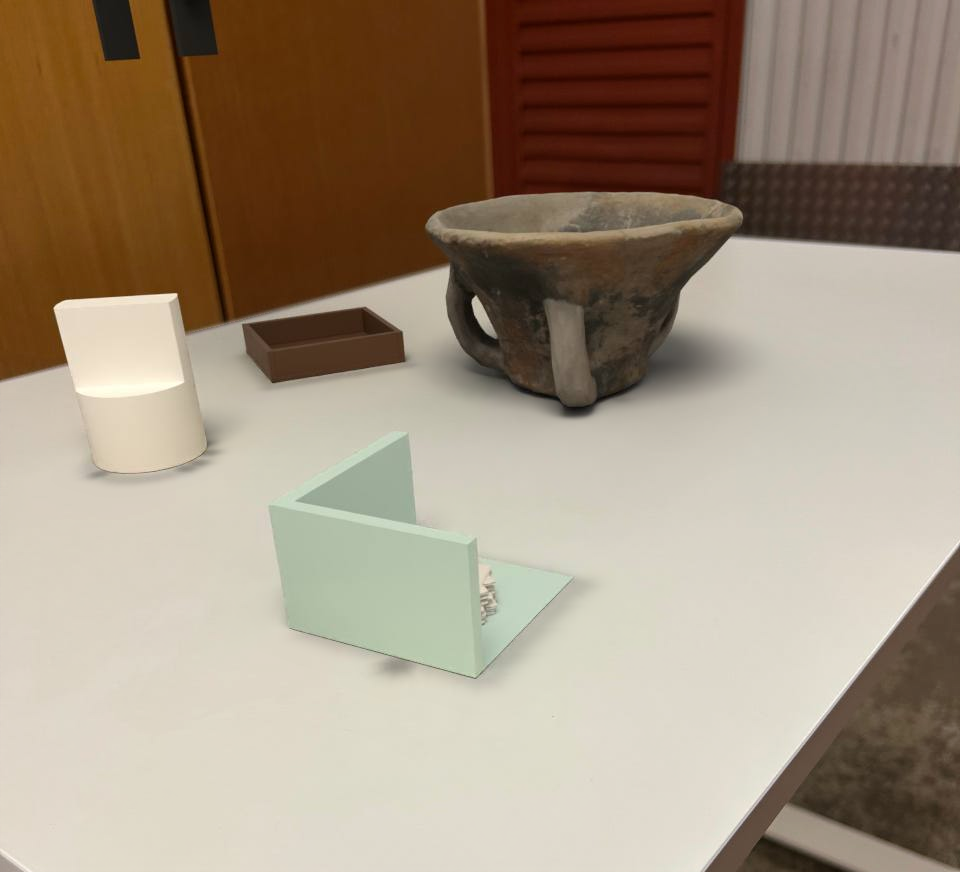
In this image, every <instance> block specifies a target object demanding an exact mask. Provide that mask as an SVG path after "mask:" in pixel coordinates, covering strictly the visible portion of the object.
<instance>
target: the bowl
mask: <svg viewBox="0 0 960 872" xmlns="http://www.w3.org/2000/svg"><path fill="white" fill-rule="evenodd" d="M743 215H744V214H743V212H742V211H741V209H739V208H738V207H737V206H734V205H732V204H729V203H726V202H722V201H720V200H718V199H710V198H704V197H701V196H697V195H688V194H687V195H685V194H679V193H663V192H654V191H647V192H646V191H632V192H631V191H630V192H627V191H618V192H616V191H615V192H611V191H601V192H600V191H599V192H598V191H579V192H578V191H574V192H549V193H547V192H546V193H529V194H514V195H513V194H512V195H506V196H500V197H496V198H490V199H485V200H479V201H475V202H468V203H462V204H458V205H454V206H451V207H450V206H449V207H447V208H445V209H442V210H438V211H436V212H435V213H433V214H432V215H431V216H430V217H429V218H428V220H427V222H426V224H425V225H424V230H425V233H426V235H427V236H428V237H429V238H430V240H431V241H432V242H433V244H435V246H436V247H437V248H438V249H439V250H440V251H441V252H442V254H443V255H445V257H446V258H447V259H448V260H449V261H450V262H449V274H448V281H447V287H446V293H445V305H446V314H447V319H448V321H449V323H450V326H451V328H452V331H453V333H454V336H455V338H456V340H457V342H458V343H459V345H460V347H461V348H462V350H463V351H464V353H465V354H466V355H468V356H469V357H470V358H472V359H473V360H474V361H475V362H477V363H478V364H479V365H480V366H482V367H485V368H488V369H491V370H493V371H497V372H499V373H502V374H503V373H504V374H506V375H507V377H508V378H509V379H510V381H511V382H512V383H513V384H515V385H517V386H518V387H520V388H523V389H524V390H527V391H531V392H533V393H536V394H541V395H545V396H550V397H554V398H558V399H559V401H560V402H561V403H562V405H564V406H567V407H569V408H570V407H572V408H573V407H577V408H578V407H587V406H591V405H592V404H594V403H595V402H596V400H599V399H601V398H604V397H607V396H610V395H612V394H615V393H618V392H621V391H624V390H627V389H628V388H630V387H631V386H632V385H633V384H636V383H638V382H639V381H640V380H641V379H642V378H643V377H644V376H645V375H647V373H648V371H649V367H648V359H650V358H651V357H652V356H653V355H654V353H656V351H657V350H658V349H659V348H660V347H661V346H662V345H663V344H664V342H665V341H666V340H667V338H668V337H669V334H670V333H671V331H672V329H673V326H674V323H675V320H676V317H677V314H678V311H679V305H680V298H681V293H682V292H681V291H682V290H683V289H684V287H685V286H686V285H687V284H688V282H689V281H690V280H691V279H692V278H693V276H695V274H697V273H698V272H699V271H700V270H701V269H703V268H704V267H705V266H706V264H708V263H709V262H710V261H711V260H712V259H713V257H714V256H715V255H716V254H717V253H718V252H719V251H720V250H721V248H722V247H723V246H724V245H725V244H726V243H727V242H728V241H729V240H730V239H731V237H732V236H733V235H734V234H735V233H736V232H737V230H739V228H740V227H741V226H742V225H743V221H744V217H743ZM475 297H477V299H478V301H479V303H480V304H481V306H482V307H483V310H484V313H485V314H486V316H487V318H488V320H489V323H490V324H491V326H492V329H493V330H494V332H495V335H496V337H497V338H495V337H493V336H491V335H489V334H488V333H486V330H484V329H483V327H482V325H481V324H480V322H479V321H478V319H477V317H476V315H475V312H474V311H475V310H474V306H473V303H472V302H473V299H474V298H475Z"/></svg>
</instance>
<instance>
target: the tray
mask: <svg viewBox="0 0 960 872" xmlns="http://www.w3.org/2000/svg"><path fill="white" fill-rule="evenodd" d="M241 328H242V333H243V339H244V345H245V351H246V354H247V355H248V356H249V357H250V358H251V360H253V362H254V363H255V364H256V365H257V366H258V368H259V369H260V370H261V371H262V373H263V374H264V375H265V376H266V377H267V378H268V380H269V381H270V382H271V383H273V384H274V383H278V382H284V381H285V382H286V381H291V380H297V379H304V378H309V377H317V376H323V375H329V374H335V373H336V374H337V373H341V372H349V371H353V370H361V369H366V368H374V367H380V366H385V365H392V364H397V363H404V362H406V354H405V343H404V332H403V331H402V330H401V329H400V328H398V327H397V326H395V325H393V323H390V322H389V321H388V320H386V319H385V318H384V317H382V316H381V315H379V314H377V313H376V312H375V311H373V310H372V309H370V308H368V307H367V306H359V307H358V306H357V307H353V308H345V309H337V310H330V311H322V312H317V313H309V314H303V315H294V316H288V317H282V318H274V319H267V320H260V321H252V322H246V323H241Z"/></svg>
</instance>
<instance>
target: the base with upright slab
mask: <svg viewBox="0 0 960 872" xmlns="http://www.w3.org/2000/svg"><path fill="white" fill-rule="evenodd" d="M53 312H54V316H55V320H56V323H57V328H58V330H59V335H60V338H61V342H62V346H63V350H64V353H65V357H66V362H67V364H68V368H69V372H70V376H71V381H72V384H73V386H74V392H75V395H76V396H75V397H76V398H77V403H78V406H79V407H78V408H79V410H80V411H79V412H80V415H81V418H82V422H83V426H84V429H85V435H86V437H87V441H88V445H89V448H90V452H91V456H92V461H93V464H94V466H96V467H97V468H98V469H100V470H102V471H107V472H110V473H118V474H141V473H150V472H156V471H162V470H166V469H171V468H174V467H177V466H181V465H184V464H186V463H189V462H191V461H193V460H195V459H196V458H198V457H200V456H201V455H203V453H205V451H206V450H207V447H208V442H207V438H206V437H207V436H206V431H205V427H204V422H203V416H202V412H201V406H200V401H199V396H198V391H197V387H196V386H197V385H196V382H195V381H196V380H195V376H194V372H193V368H192V367H193V366H192V361H191V357H190V351H189V346H188V341H187V335H186V330H185V326H184V321H183V316H182V310H181V306H180V300H179V295H178V293H177V292H176V293H175V292H173V293H159V294H141V295H140V294H139V295H127V296H126V295H125V296H110V297H94V298H92V297H91V298H76V299H65V300H62V301H60V302H58V303H56V304H55V305H54V306H53Z"/></svg>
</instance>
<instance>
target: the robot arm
mask: <svg viewBox="0 0 960 872" xmlns="http://www.w3.org/2000/svg"><path fill="white" fill-rule="evenodd" d="M91 1H92V8H93V12H94V16H95V21H96V26H97V31H98V36H99V40H100V45H101V49H102V54H103V59H104V62H114V61H115V62H116V61H132V60H141V55H140V50H139V44H138V40H137V34H136V30H135V24H134V18H133V13H132V9H131V4H130V0H91ZM168 3H169V9H170V14H171V19H172V25H173V31H174V36H175V40H176V41H175V42H176V49H177V53H178V57H179V58H185V57H187V58H188V57H201V56H203V57H204V56H218V55H219V51H218V45H217V37H216V32H215V25H214V19H213V14H212V8H211V1H210V0H168Z"/></svg>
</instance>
